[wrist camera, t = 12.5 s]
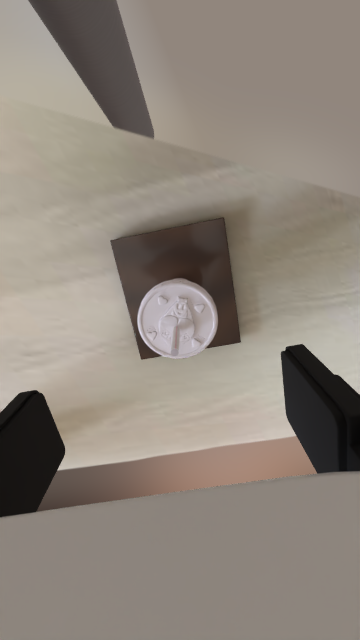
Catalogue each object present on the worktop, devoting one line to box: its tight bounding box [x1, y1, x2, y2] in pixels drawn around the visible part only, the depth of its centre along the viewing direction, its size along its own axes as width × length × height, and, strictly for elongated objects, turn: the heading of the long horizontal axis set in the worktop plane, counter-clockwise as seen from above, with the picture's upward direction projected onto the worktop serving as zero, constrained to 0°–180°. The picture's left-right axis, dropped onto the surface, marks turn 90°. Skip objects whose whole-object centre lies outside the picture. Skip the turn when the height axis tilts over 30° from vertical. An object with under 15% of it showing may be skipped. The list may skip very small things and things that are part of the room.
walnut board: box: [111, 218, 241, 359], centre depth 31 cm, size 14×12×2 cm
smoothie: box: [137, 278, 218, 359], centre depth 24 cm, size 6×6×14 cm
